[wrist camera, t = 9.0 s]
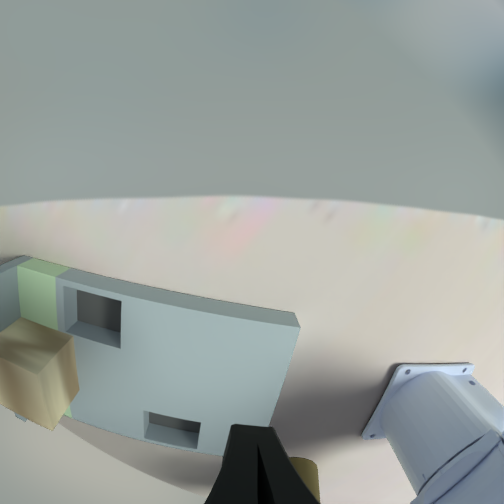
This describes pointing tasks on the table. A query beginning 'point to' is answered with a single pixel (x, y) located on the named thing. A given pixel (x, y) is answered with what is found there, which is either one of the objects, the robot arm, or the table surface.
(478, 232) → the table surface
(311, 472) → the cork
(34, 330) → the beech block
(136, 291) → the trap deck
